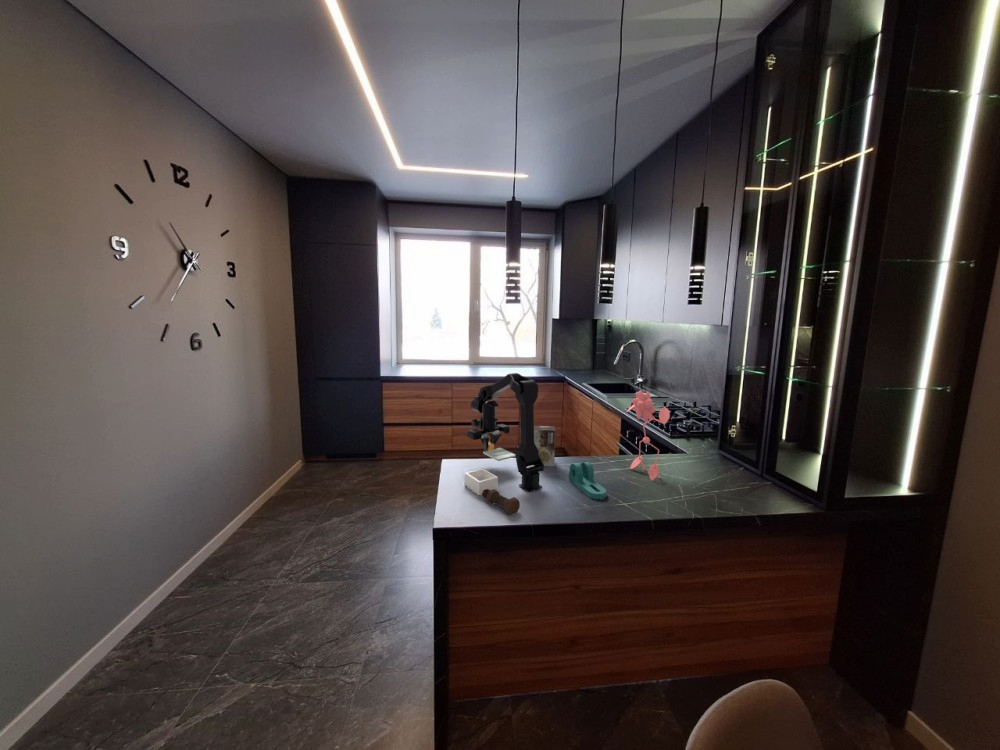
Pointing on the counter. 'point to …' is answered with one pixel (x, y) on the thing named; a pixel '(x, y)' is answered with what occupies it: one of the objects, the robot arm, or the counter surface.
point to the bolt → (502, 501)
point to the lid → (498, 453)
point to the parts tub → (481, 481)
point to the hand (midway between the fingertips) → (488, 450)
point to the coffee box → (545, 443)
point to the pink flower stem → (645, 410)
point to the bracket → (586, 480)
